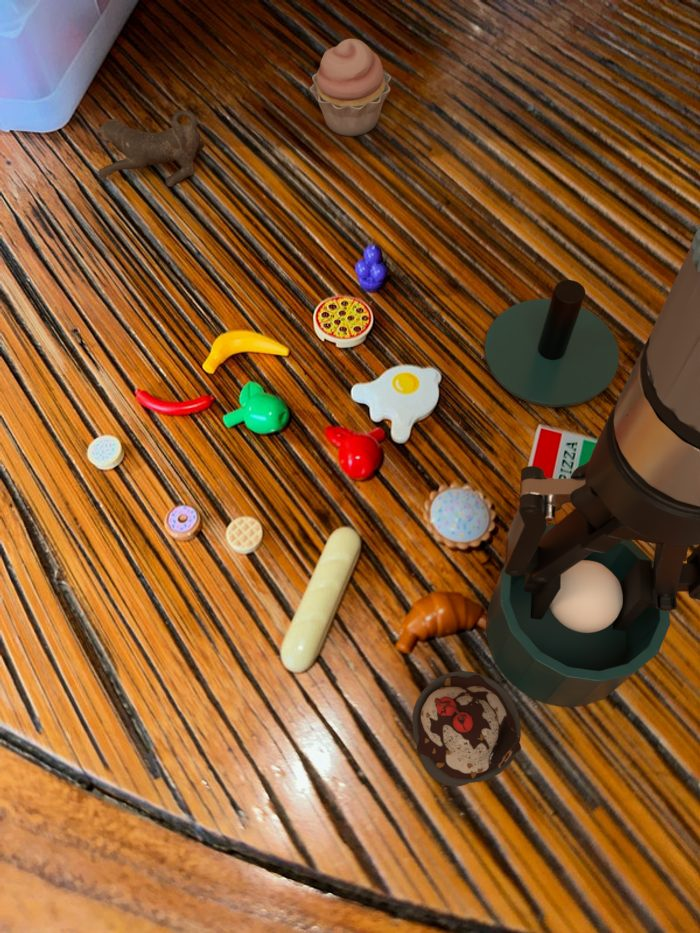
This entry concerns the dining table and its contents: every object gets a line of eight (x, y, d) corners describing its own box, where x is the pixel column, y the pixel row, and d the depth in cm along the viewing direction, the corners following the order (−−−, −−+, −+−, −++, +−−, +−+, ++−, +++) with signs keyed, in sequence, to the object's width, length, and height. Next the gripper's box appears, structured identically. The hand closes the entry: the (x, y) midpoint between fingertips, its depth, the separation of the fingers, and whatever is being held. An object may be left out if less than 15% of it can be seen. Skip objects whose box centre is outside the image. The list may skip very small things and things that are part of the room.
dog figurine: (211, 152, 89) (197, 93, 82) (206, 186, 86) (192, 129, 79) (109, 155, 89) (87, 97, 82) (101, 189, 86) (78, 132, 80)
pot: (631, 574, 62) (666, 531, 54) (635, 717, 56) (673, 692, 49) (490, 556, 63) (505, 512, 56) (480, 695, 58) (495, 666, 50)
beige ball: (609, 579, 55) (629, 552, 51) (614, 644, 53) (635, 622, 49) (540, 573, 56) (554, 547, 51) (541, 638, 53) (556, 616, 49)
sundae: (392, 724, 57) (396, 676, 44) (474, 690, 58) (501, 633, 45) (428, 814, 54) (443, 792, 41) (514, 777, 55) (556, 743, 42)
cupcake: (301, 138, 89) (293, 57, 80) (327, 89, 93) (322, 7, 85) (377, 153, 87) (377, 72, 79) (400, 103, 92) (403, 20, 83)
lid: (615, 312, 75) (643, 243, 67) (617, 418, 69) (647, 357, 61) (487, 300, 76) (500, 231, 68) (478, 403, 70) (491, 341, 62)
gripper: (895, 390, 35) (704, 573, 55) (496, 350, 37) (454, 542, 57) (930, 540, 31) (712, 677, 51) (486, 487, 33) (445, 639, 53)
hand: (577, 606), depth 54 cm, fingers closed on beige ball, 5 cm apart
